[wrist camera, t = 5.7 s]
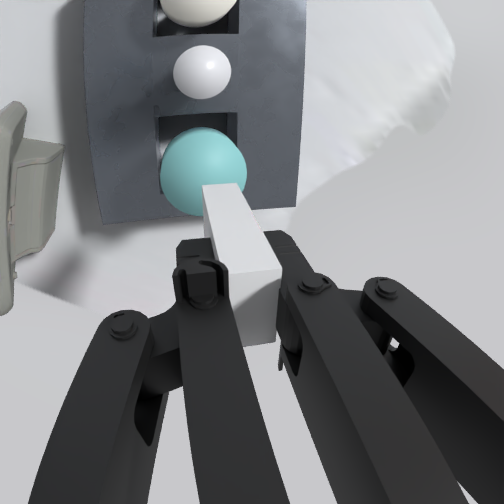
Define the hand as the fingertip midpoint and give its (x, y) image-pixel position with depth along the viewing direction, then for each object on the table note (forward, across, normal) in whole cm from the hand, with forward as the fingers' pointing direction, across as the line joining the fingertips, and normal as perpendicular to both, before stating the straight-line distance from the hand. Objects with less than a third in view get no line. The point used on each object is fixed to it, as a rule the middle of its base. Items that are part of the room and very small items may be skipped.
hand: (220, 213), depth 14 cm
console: (+15, 0, +6) cm, 17 cm away
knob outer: (+12, 0, 0) cm, 12 cm away
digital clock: (+16, -18, -1) cm, 24 cm away
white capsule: (+10, 0, +6) cm, 12 cm away
